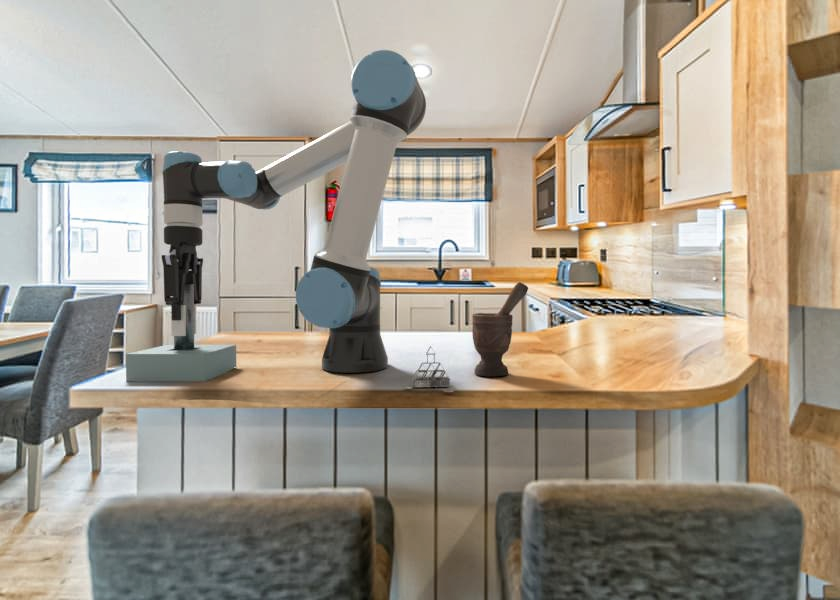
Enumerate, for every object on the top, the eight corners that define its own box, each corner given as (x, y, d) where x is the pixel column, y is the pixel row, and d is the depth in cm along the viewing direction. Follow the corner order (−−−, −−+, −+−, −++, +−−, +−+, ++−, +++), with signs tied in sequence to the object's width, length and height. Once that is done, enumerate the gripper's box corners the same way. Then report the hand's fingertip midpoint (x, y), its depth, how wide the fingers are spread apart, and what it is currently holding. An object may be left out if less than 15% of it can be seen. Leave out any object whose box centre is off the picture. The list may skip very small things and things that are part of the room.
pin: (198, 347, 108) (197, 284, 108) (185, 350, 104) (184, 284, 104) (183, 347, 109) (182, 284, 109) (169, 349, 105) (168, 284, 105)
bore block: (236, 368, 114) (236, 344, 114) (204, 381, 98) (204, 354, 98) (168, 368, 115) (168, 344, 115) (126, 381, 99) (125, 353, 99)
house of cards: (406, 393, 89) (405, 351, 89) (403, 383, 98) (403, 345, 97) (455, 391, 90) (455, 350, 90) (447, 382, 98) (447, 344, 98)
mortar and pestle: (523, 371, 110) (524, 282, 109) (529, 378, 101) (529, 281, 100) (471, 371, 111) (472, 282, 110) (472, 378, 102) (472, 281, 101)
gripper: (185, 231, 114) (186, 331, 115) (143, 221, 97) (144, 338, 98) (217, 231, 114) (218, 331, 115) (180, 221, 97) (181, 339, 98)
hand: (184, 334), depth 106 cm, fingers closed on pin, 4 cm apart
